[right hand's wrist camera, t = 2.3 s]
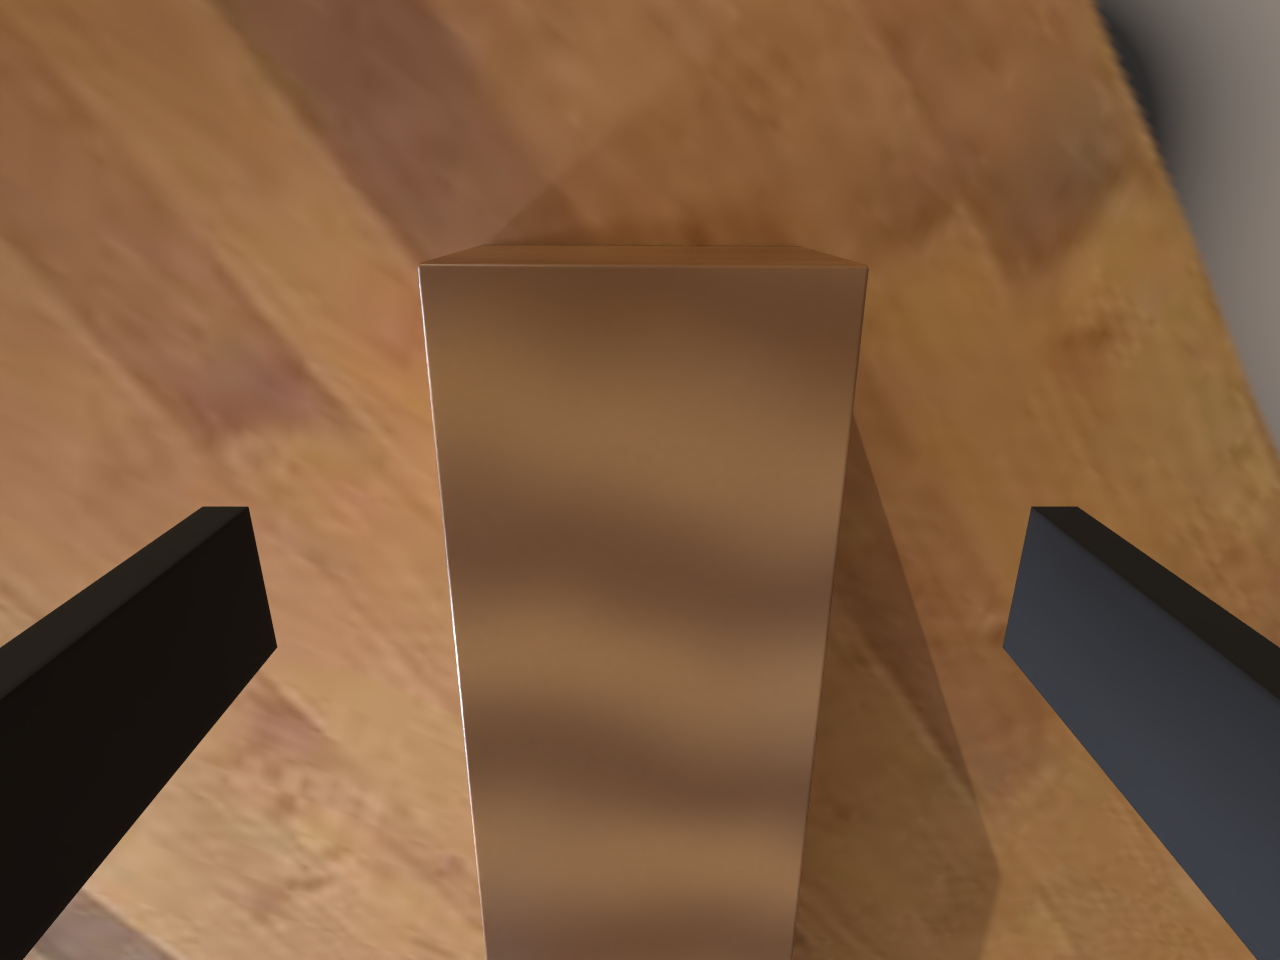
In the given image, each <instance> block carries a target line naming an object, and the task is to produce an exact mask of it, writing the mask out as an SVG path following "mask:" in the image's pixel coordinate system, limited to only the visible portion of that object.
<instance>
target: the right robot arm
mask: <svg viewBox="0 0 1280 960" xmlns="http://www.w3.org/2000/svg"><path fill="white" fill-rule="evenodd" d="M276 648H277V644H276V639H275V634H274V629H273V624H272V619H271V614H270V609H269V605H268V600H267V595H266V590H265V585H264V580H263V575H262V570H261V566H260V561H259V556H258V551H257V546H256V541H255V536H254V531H253V527H252V522H251V517H250V512H249V507H202V508H200V509H199V510H197V511H196V512H194V513H193V514H191V515H190V516H189V517H187V518H186V519H184V520H183V521H181V522H180V523H179V524H177V525H176V526H174V527H173V528H171V529H170V530H169V531H167V532H166V533H164V534H163V535H161V536H160V537H158V538H157V539H156V540H154V541H153V542H151V543H150V544H148V545H147V546H146V547H144V548H143V549H141V550H140V551H138V552H137V553H136V554H134V555H133V556H131V557H130V558H128V559H127V560H126V561H124V562H123V563H121V564H120V565H118V566H117V567H115V568H114V569H113V570H111V571H110V572H108V573H107V574H105V575H104V576H103V577H101V578H100V579H98V580H97V581H95V582H94V583H93V584H91V585H90V586H88V587H87V588H85V589H84V590H82V591H81V592H80V593H78V594H77V595H75V596H74V597H72V598H71V599H70V600H68V601H67V602H65V603H64V604H62V605H61V606H60V607H58V608H57V609H55V610H54V611H52V612H51V613H50V614H48V615H47V616H45V617H44V618H42V619H41V620H39V621H38V622H37V623H35V624H34V625H32V626H31V627H29V628H28V629H27V630H25V631H24V632H22V633H21V634H19V635H18V636H17V637H15V638H14V639H12V640H11V641H9V642H8V643H7V644H5V645H4V646H2V647H1V648H0V960H23V959H24V958H25V956H26V955H27V954H28V953H29V951H30V950H31V949H32V948H33V947H34V945H35V944H36V943H37V942H38V940H39V939H40V938H41V937H42V936H43V934H44V933H45V932H46V931H47V929H48V928H49V927H50V926H51V924H52V923H53V922H54V921H55V920H56V918H57V917H58V916H59V915H60V913H61V912H62V911H63V910H64V908H65V907H66V906H67V905H68V904H69V902H70V901H71V900H72V899H73V897H74V896H75V895H76V894H77V893H78V891H79V890H80V889H81V888H82V886H83V885H84V884H85V883H86V881H87V880H88V879H89V878H90V877H91V875H92V874H93V873H94V872H95V870H96V869H97V868H98V867H99V865H100V864H101V863H102V862H103V861H104V859H105V858H106V857H107V856H108V854H109V853H110V852H111V851H112V850H113V848H114V847H115V846H116V845H117V843H118V842H119V841H120V840H121V838H122V837H123V836H124V835H125V834H126V832H127V831H128V830H129V829H130V827H131V826H132V825H133V824H134V823H135V821H136V820H137V819H138V818H139V816H140V815H141V814H142V813H143V811H144V810H145V809H146V808H147V807H148V805H149V804H150V803H151V802H152V800H153V799H154V798H155V797H156V795H157V794H158V793H159V792H160V791H161V789H162V788H163V787H164V786H165V784H166V783H167V782H168V781H169V780H170V778H171V777H172V776H173V775H174V773H175V772H176V771H177V770H178V768H179V767H180V766H181V765H182V764H183V762H184V761H185V760H186V759H187V757H188V756H189V755H190V754H191V753H192V751H193V750H194V749H195V748H196V746H197V745H198V744H199V743H200V741H201V740H202V739H203V738H204V737H205V735H206V734H207V733H208V732H209V730H210V729H211V728H212V727H213V725H214V724H215V723H216V722H217V721H218V719H219V718H220V717H221V716H222V714H223V713H224V712H225V711H226V710H227V708H228V707H229V706H230V705H231V703H232V702H233V701H234V700H235V698H236V697H237V696H238V695H239V694H240V692H241V691H242V690H243V689H244V687H245V686H246V685H247V684H248V683H249V681H250V680H251V679H252V678H253V676H254V675H255V674H256V673H257V671H258V670H259V669H260V668H261V667H262V665H263V664H264V663H265V662H266V660H267V659H268V658H269V657H270V655H271V654H272V653H273V652H274V651H275V649H276ZM1003 648H1004V649H1005V651H1006V652H1007V653H1008V654H1009V655H1010V657H1011V658H1012V659H1013V660H1014V662H1015V663H1016V664H1017V665H1018V667H1019V668H1020V669H1021V670H1022V671H1023V673H1024V674H1025V675H1026V676H1027V678H1028V679H1029V680H1030V681H1031V683H1032V684H1033V685H1034V686H1035V687H1036V689H1037V690H1038V691H1039V692H1040V694H1041V695H1042V696H1043V697H1044V698H1045V700H1046V701H1047V702H1048V703H1049V705H1050V706H1051V707H1052V708H1053V710H1054V711H1055V712H1056V713H1057V714H1058V716H1059V717H1060V718H1061V719H1062V721H1063V722H1064V723H1065V724H1066V725H1067V727H1068V728H1069V729H1070V730H1071V732H1072V733H1073V734H1074V735H1075V737H1076V738H1077V739H1078V740H1079V741H1080V743H1081V744H1082V745H1083V746H1084V748H1085V749H1086V750H1087V751H1088V753H1089V754H1090V755H1091V756H1092V757H1093V759H1094V760H1095V761H1096V762H1097V764H1098V765H1099V766H1100V767H1101V768H1102V770H1103V771H1104V772H1105V773H1106V775H1107V776H1108V777H1109V778H1110V780H1111V781H1112V782H1113V783H1114V784H1115V786H1116V787H1117V788H1118V789H1119V791H1120V792H1121V793H1122V794H1123V795H1124V797H1125V798H1126V799H1127V800H1128V802H1129V803H1130V804H1131V805H1132V807H1133V808H1134V809H1135V810H1136V811H1137V813H1138V814H1139V815H1140V816H1141V818H1142V819H1143V820H1144V821H1145V823H1146V824H1147V825H1148V826H1149V827H1150V829H1151V830H1152V831H1153V832H1154V834H1155V835H1156V836H1157V837H1158V838H1159V840H1160V841H1161V842H1162V843H1163V845H1164V846H1165V847H1166V848H1167V850H1168V851H1169V852H1170V853H1171V854H1172V856H1173V857H1174V858H1175V859H1176V861H1177V862H1178V863H1179V864H1180V865H1181V867H1182V868H1183V869H1184V870H1185V872H1186V873H1187V874H1188V875H1189V877H1190V878H1191V879H1192V880H1193V881H1194V883H1195V884H1196V885H1197V886H1198V888H1199V889H1200V890H1201V891H1202V893H1203V894H1204V895H1205V896H1206V897H1207V899H1208V900H1209V901H1210V902H1211V904H1212V905H1213V906H1214V907H1215V908H1216V910H1217V911H1218V912H1219V913H1220V915H1221V916H1222V917H1223V918H1224V920H1225V921H1226V922H1227V923H1228V924H1229V926H1230V927H1231V928H1232V929H1233V931H1234V932H1235V933H1236V934H1237V936H1238V937H1239V938H1240V939H1241V940H1242V942H1243V943H1244V944H1245V945H1246V947H1247V948H1248V949H1249V950H1250V951H1251V953H1252V954H1253V955H1254V956H1255V958H1256V959H1257V960H1280V648H1279V647H1278V646H1276V645H1275V644H1273V643H1272V642H1271V641H1269V640H1268V639H1266V638H1265V637H1263V636H1262V635H1261V634H1259V633H1258V632H1256V631H1255V630H1253V629H1252V628H1251V627H1249V626H1248V625H1246V624H1245V623H1243V622H1242V621H1241V620H1239V619H1238V618H1236V617H1235V616H1233V615H1232V614H1230V613H1229V612H1228V611H1226V610H1225V609H1223V608H1222V607H1220V606H1219V605H1218V604H1216V603H1215V602H1213V601H1212V600H1210V599H1209V598H1208V597H1206V596H1205V595H1203V594H1202V593H1200V592H1199V591H1198V590H1196V589H1195V588H1193V587H1192V586H1190V585H1189V584H1187V583H1186V582H1185V581H1183V580H1182V579H1180V578H1179V577H1177V576H1176V575H1175V574H1173V573H1172V572H1170V571H1169V570H1167V569H1166V568H1165V567H1163V566H1162V565H1160V564H1159V563H1157V562H1156V561H1154V560H1153V559H1152V558H1150V557H1149V556H1147V555H1146V554H1144V553H1143V552H1142V551H1140V550H1139V549H1137V548H1136V547H1134V546H1133V545H1132V544H1130V543H1129V542H1127V541H1126V540H1124V539H1123V538H1122V537H1120V536H1119V535H1117V534H1116V533H1114V532H1113V531H1111V530H1110V529H1109V528H1107V527H1106V526H1104V525H1103V524H1101V523H1100V522H1099V521H1097V520H1096V519H1094V518H1093V517H1091V516H1090V515H1089V514H1087V513H1086V512H1084V511H1083V510H1081V509H1080V508H1078V507H1031V512H1030V517H1029V522H1028V527H1027V531H1026V536H1025V541H1024V546H1023V551H1022V556H1021V561H1020V566H1019V570H1018V575H1017V580H1016V585H1015V590H1014V595H1013V600H1012V605H1011V609H1010V614H1009V619H1008V624H1007V629H1006V634H1005V639H1004V644H1003Z"/></svg>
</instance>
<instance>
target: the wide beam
mask: <svg viewBox="0 0 1280 960" xmlns="http://www.w3.org/2000/svg"><path fill="white" fill-rule="evenodd" d="M417 270H418V280H419V290H420V300H421V310H422V320H423V330H424V340H425V350H426V360H427V370H428V380H429V390H430V401H431V411H432V421H433V431H434V441H435V451H436V461H437V471H438V481H439V491H440V501H441V511H442V521H443V531H444V541H445V552H446V562H447V572H448V582H449V592H450V602H451V612H452V622H453V632H454V642H455V652H456V662H457V672H458V682H459V692H460V703H461V713H462V723H463V733H464V743H465V753H466V763H467V773H468V783H469V793H470V803H471V813H472V823H473V833H474V844H475V854H476V864H477V874H478V884H479V894H480V904H481V914H482V924H483V934H484V944H485V954H486V960H792V951H793V942H794V933H795V924H796V915H797V906H798V897H799V888H800V879H801V870H802V862H803V853H804V844H805V835H806V826H807V817H808V808H809V799H810V790H811V781H812V772H813V763H814V754H815V745H816V736H817V727H818V718H819V709H820V700H821V691H822V682H823V673H824V664H825V655H826V647H827V638H828V629H829V620H830V611H831V602H832V593H833V584H834V575H835V566H836V557H837V548H838V539H839V530H840V521H841V512H842V503H843V494H844V485H845V476H846V467H847V458H848V449H849V440H850V432H851V423H852V414H853V405H854V396H855V387H856V378H857V369H858V360H859V351H860V342H861V333H862V324H863V315H864V306H865V297H866V288H867V279H868V270H869V269H868V266H866V265H863V264H860V263H856V262H853V261H849V260H846V259H842V258H839V257H835V256H832V255H828V254H825V253H821V252H817V251H814V250H810V249H807V248H803V247H800V246H641V245H481V246H478V247H474V248H471V249H467V250H464V251H460V252H457V253H453V254H450V255H446V256H443V257H439V258H436V259H432V260H429V261H425V262H422V263H419V264H418V266H417Z"/></svg>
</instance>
